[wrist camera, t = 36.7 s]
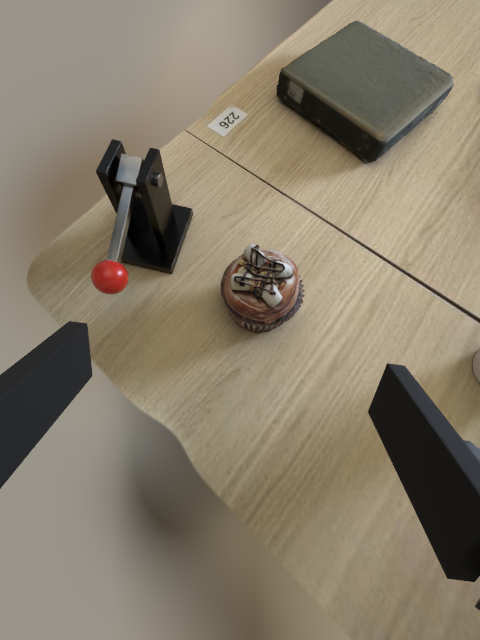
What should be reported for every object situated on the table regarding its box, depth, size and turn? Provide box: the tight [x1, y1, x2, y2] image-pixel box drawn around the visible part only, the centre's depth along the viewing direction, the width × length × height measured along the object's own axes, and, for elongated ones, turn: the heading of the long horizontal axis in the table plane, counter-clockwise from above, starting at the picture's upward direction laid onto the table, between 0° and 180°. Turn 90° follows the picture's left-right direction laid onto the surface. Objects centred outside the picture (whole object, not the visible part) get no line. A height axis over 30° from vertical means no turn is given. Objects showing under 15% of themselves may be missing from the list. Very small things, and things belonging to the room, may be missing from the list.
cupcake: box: [221, 244, 304, 333], centre depth 35 cm, size 10×10×10 cm
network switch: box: [277, 21, 454, 163], centre depth 51 cm, size 23×23×5 cm
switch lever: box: [91, 153, 144, 294], centre depth 32 cm, size 14×4×4 cm, turn 168°
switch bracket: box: [96, 140, 193, 274], centre depth 36 cm, size 10×8×13 cm
